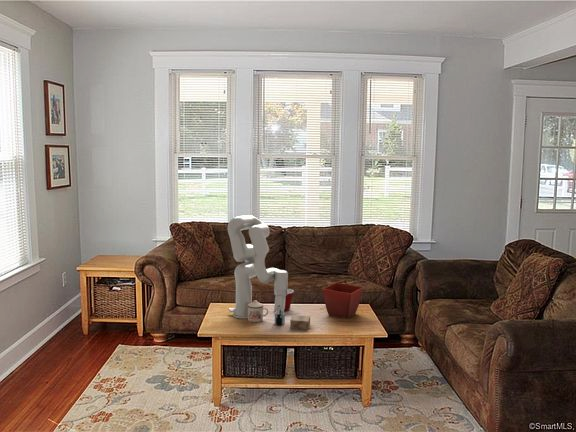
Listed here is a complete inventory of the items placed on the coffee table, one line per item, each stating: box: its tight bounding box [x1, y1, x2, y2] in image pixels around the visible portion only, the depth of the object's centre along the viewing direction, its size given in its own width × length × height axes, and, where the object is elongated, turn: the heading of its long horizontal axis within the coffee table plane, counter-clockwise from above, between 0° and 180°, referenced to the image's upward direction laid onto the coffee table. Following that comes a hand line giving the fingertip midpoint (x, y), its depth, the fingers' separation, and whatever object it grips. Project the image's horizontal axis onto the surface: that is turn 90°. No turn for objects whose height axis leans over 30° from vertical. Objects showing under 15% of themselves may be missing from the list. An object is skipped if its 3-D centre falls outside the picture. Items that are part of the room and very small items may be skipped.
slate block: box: [274, 311, 286, 326], centre depth 308 cm, size 5×5×6 cm
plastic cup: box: [283, 288, 294, 312], centre depth 337 cm, size 11×11×12 cm
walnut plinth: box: [289, 314, 311, 331], centre depth 304 cm, size 10×10×5 cm
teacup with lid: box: [247, 299, 269, 323], centre depth 314 cm, size 12×9×12 cm
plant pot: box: [321, 282, 364, 319], centre depth 328 cm, size 19×19×17 cm
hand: (279, 322), depth 309 cm, fingers closed on slate block, 5 cm apart
